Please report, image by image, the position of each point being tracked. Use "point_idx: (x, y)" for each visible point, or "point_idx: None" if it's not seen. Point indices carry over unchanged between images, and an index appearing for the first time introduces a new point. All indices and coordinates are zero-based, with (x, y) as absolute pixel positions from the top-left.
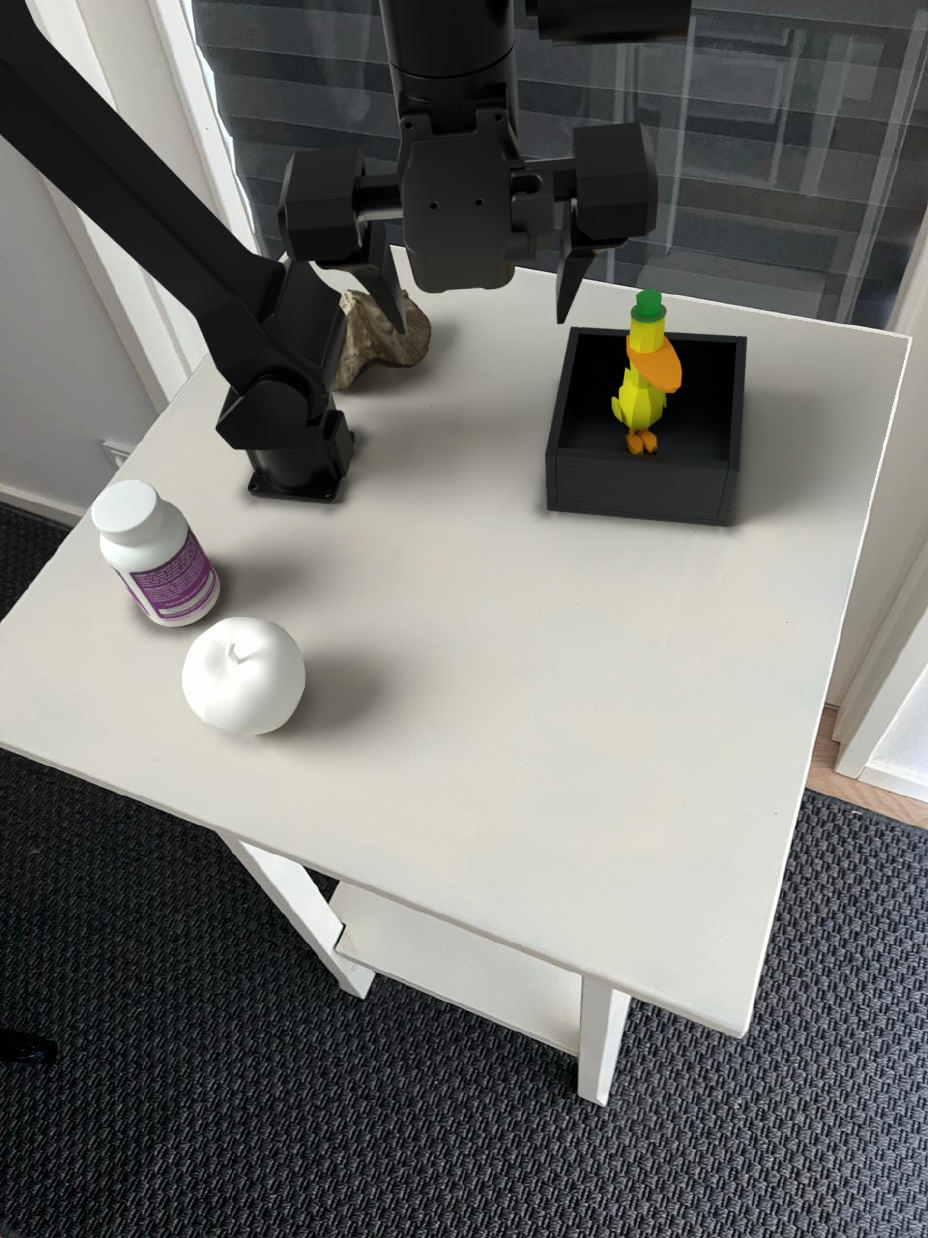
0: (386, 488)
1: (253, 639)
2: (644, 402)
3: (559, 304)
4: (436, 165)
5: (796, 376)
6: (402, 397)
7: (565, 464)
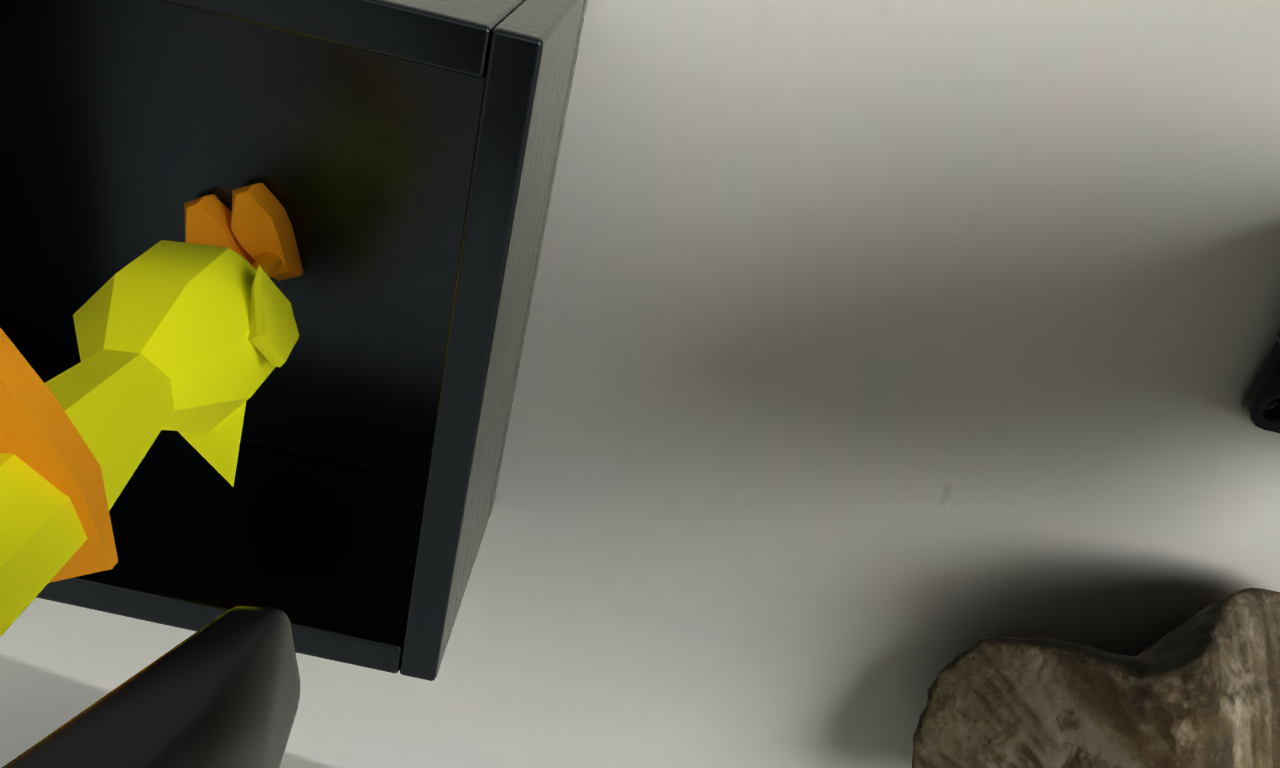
0: (1181, 167)
1: None
2: (132, 301)
3: (152, 741)
4: None
5: None
6: (1035, 541)
7: (459, 8)
